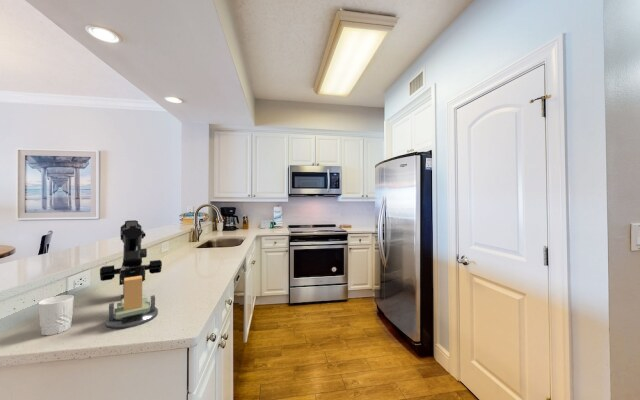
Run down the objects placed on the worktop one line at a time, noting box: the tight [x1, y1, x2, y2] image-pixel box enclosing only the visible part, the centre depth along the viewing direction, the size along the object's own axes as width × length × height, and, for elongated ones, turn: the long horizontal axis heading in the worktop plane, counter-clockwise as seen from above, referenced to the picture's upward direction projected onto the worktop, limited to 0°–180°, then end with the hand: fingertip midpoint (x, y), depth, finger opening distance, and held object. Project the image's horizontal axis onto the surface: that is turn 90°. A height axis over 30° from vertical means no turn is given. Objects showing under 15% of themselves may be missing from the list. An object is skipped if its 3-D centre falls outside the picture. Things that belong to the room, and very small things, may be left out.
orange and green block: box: [114, 276, 151, 319], centre depth 89 cm, size 14×10×11 cm
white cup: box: [38, 294, 75, 336], centre depth 80 cm, size 8×8×10 cm
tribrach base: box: [104, 295, 159, 330], centre depth 89 cm, size 15×15×6 cm
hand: (132, 289), depth 91 cm, fingers closed
